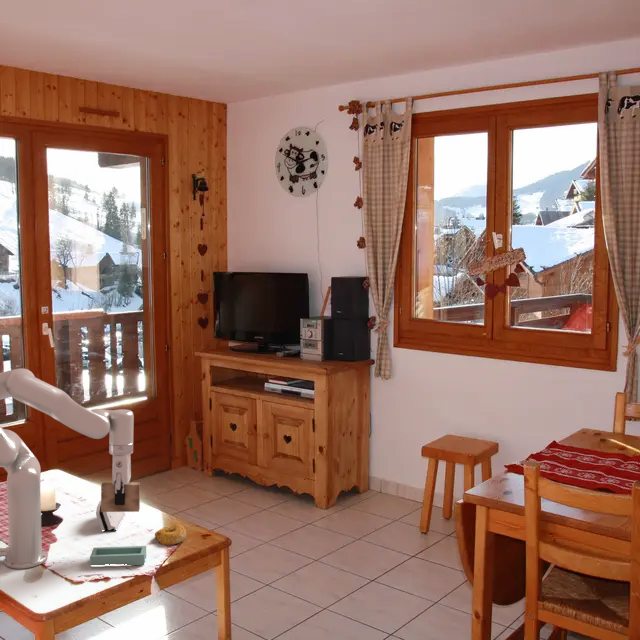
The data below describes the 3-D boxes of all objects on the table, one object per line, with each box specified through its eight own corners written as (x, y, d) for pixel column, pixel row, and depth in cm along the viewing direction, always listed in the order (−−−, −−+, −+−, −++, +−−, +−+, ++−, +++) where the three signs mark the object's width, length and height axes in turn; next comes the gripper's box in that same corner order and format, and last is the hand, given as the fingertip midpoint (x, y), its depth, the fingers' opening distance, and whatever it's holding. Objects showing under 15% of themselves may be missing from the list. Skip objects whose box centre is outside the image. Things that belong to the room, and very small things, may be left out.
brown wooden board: (100, 511, 242) (101, 484, 241) (102, 509, 244) (102, 482, 243) (138, 511, 243) (139, 484, 242) (139, 508, 246) (140, 482, 245)
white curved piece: (116, 532, 260) (106, 505, 258) (103, 536, 259) (93, 510, 258) (125, 514, 276) (116, 489, 275) (113, 518, 276) (103, 493, 275)
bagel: (166, 531, 261) (166, 518, 260) (192, 538, 256) (192, 525, 256) (148, 542, 252) (148, 528, 252) (174, 549, 247) (174, 535, 247)
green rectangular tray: (90, 567, 232) (90, 556, 231) (93, 558, 238) (93, 547, 238) (144, 565, 234) (144, 554, 233) (146, 556, 241) (146, 545, 240)
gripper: (130, 455, 234) (129, 511, 236) (135, 441, 250) (134, 494, 252) (105, 455, 233) (104, 512, 235) (112, 441, 249) (112, 494, 251)
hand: (120, 502), depth 243 cm, fingers closed on brown wooden board, 2 cm apart
